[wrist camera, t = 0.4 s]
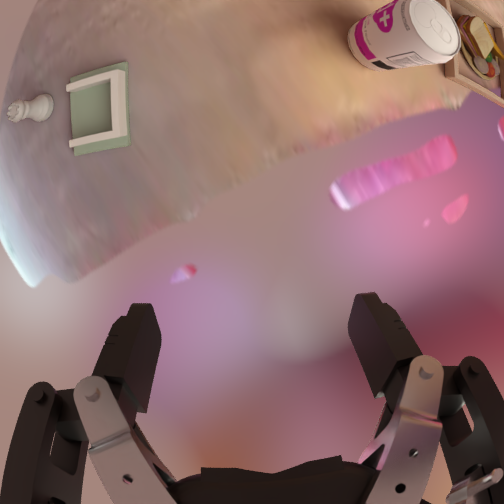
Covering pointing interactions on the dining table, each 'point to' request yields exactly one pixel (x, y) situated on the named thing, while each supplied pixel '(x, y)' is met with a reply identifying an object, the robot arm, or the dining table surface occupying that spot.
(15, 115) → the rook chess piece
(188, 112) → the dining table surface
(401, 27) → the supplement can
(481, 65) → the toy sandwich meal
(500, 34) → the tray rim
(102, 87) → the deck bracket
